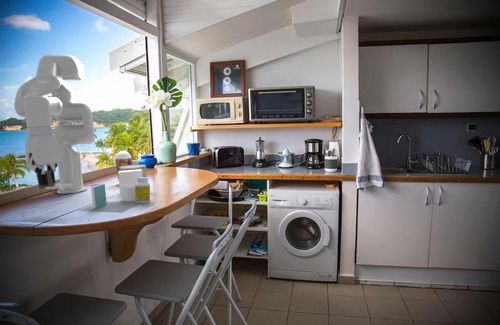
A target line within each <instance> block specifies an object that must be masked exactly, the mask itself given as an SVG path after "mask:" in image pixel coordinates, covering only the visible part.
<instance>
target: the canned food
mask: <svg viewBox="0 0 500 325" xmlns="http://www.w3.org/2000/svg"><path fill="white" fill-rule="evenodd" d="M119 169H120V171H129V170H140V169H141V170H142V177H148V176H147V175H148V174H147V165H146V164H132V165H128V166H122V167H119Z"/></svg>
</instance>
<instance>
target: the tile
mask: <svg viewBox="0 0 500 325" xmlns="http://www.w3.org/2000/svg"><path fill="white" fill-rule="evenodd" d="M90 189H91V191H90V192H91V200H92V205H93V208H98V207H101V206H103V205H106V204H107V202H108V201H107V194H106V185H105V183H100V184H95V185H93V186H91V187H90Z"/></svg>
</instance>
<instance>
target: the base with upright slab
mask: <svg viewBox="0 0 500 325" xmlns="http://www.w3.org/2000/svg"><path fill="white" fill-rule="evenodd" d="M118 175H119V181H118V184H119V194H120V196H119V197H120V201H121V202H122V201H123V202H132V201H133V202H134V201H135V185H136V183H138V180H137V178H138V177H142V170H141V169H140V170H129V171H119V172H118V174H117V176H118Z"/></svg>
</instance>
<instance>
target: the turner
mask: <svg viewBox="0 0 500 325" xmlns="http://www.w3.org/2000/svg"><path fill="white" fill-rule="evenodd" d="M35 174H36V173H35ZM45 174H47V179H48V185H39V178H38V174H36V179H37V184H38V189H39V190H44V189H45V190H51V189H53V190H54V189H59V188H69V187H73V186H76V185H79V184H80V183H67V184H57V183H53V178H52V171H51V170H47V169H45ZM55 184H56V185H55Z"/></svg>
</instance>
